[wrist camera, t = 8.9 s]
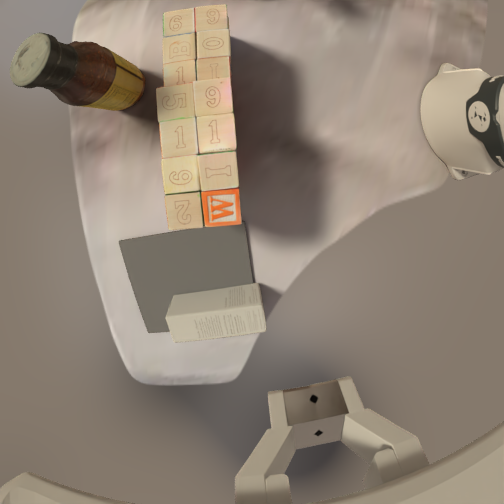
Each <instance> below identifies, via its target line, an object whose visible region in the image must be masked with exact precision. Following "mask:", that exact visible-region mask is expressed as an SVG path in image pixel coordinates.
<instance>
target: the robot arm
mask: <svg viewBox="0 0 504 504" xmlns="http://www.w3.org/2000/svg"><path fill="white" fill-rule="evenodd" d="M421 120H422V125H423V129H424V133H425V135H426V138H427V140H428V142H429V144H430V146H431V148H432V149H433V151H434V152H435V153H436V155H437V156H438V157H439V158H440V159H441V160H442V161H443V162H444V163H445V164H446V165H447V167H448V170H449V172H450V174H451V176H452V177H453V178H454V179H455V180H462V179H465V178H468V177H471V176H474V175H477V174H485V175H491V173H492V172H496V171H498V170H500V169H502V168H504V76H495V77H490V76H489V75H488V74H487V73H485V72H483V71H482V70H481V69H464V70H461V69H459V68H457V67H456V66H454V65H452V64H450V63H443V64H442V65H441V67H440V69H439V72H438V75H437V76H436V77H434V78H433V79H432V80H431V81H430V82H429V83H428V84H427V85H426V87H425V89H424V91H423V94H422V99H421ZM462 170H463V171H462ZM282 391H283V392H282ZM268 400H269V410H270V419H271V428H272V429H267V431H266V432H265V434H264V436H263V437H262V439H261V440H260V442H259V443H258V445H257V446H256V448H255V449H254V451H253V452H252V454H251V455H250V457H249V458H248V460H247V461H246V462H245V464H244V466H243V467H242V468H241V470H240V471H239V472H238V474H237V475H236V477H235V504H292V499H291V493H290V487H289V480H288V476H286V475H284V472H285V471H286V468H287V466H288V464H289V463H290V461H291V459H292V457H293V455H294V453H295V449H300V448H305V447H309V446H314V445H319V444H324V443H328V442H334V441H339V440H341V441H342V442H343V443H344V444H345V445H346V446H347V447H349V448H350V449H351V450H352V451H353V452H355V453H356V454H357V455H358V456H360V457H361V458H362V459H363V460H364V461H366V462H367V463H368V464H369V465H370V467H369V469H368V471H367V473H366V475H365V477H364V479H363V484H364V487H365V490H362V491H358V492H355V493H352V494H348V495H344V496H340V497H336V498H332V499H327V500H322V501H318V502H312V503H307V504H504V421H503V422H502V423H501V424H499V425H497V426H496V427H495V428H493V429H492V430H490V431H489V432H487V433H486V434H484V435H483V436H481V437H479V438H478V439H476V440H475V441H473V442H471V443H470V444H468V445H466V446H464V447H463V448H462V449H459V450H457V451H456V452H454V453H452V454H450V455H448V456H446V457H444V458H442V459H440V460H438V461H436V462H434V463H433V464H429V462H428V460H427V457H426V455H425V453H424V451H423V449H422V447H421V444H420V442H419V440H418V438H417V436H415V435H413V434H411V433H409V432H408V431H406V430H404V429H402V428H401V427H399V426H397V425H396V424H394V423H392V422H391V421H389V420H387V419H386V418H384V417H382V416H381V415H379V414H377V413H376V412H374V411H372V410H370V409H369V408H368V409H364V406H363V404H362V401H361V399H360V396H359V394H358V392H357V389H356V387H355V385H354V382H353V380H352V378H351V377H350V376H348V377H345V378H340V379H334V380H330V381H326V382H322V383H317V384H312V385H309V386H304V387H298V388H291V389H284V390H278V391H271V392H268ZM0 504H134V503H129V502H124V501H119V500H114V499H110V498H106V497H102V496H97V495H94V494H91V493H87V492H84V491H80V490H77V489H74V488H71V487H68V486H65V485H62V484H59V483H57V482H54V481H51V480H49V479H46V478H44V477H41V476H39V475H37V474H34V473H31V472H25V473H23V474H20V475H19V476H17V477H15V478H14V479H12V480H11V481H9V482H8V483H6V484H5V485H3V487H1V489H0Z"/></svg>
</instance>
